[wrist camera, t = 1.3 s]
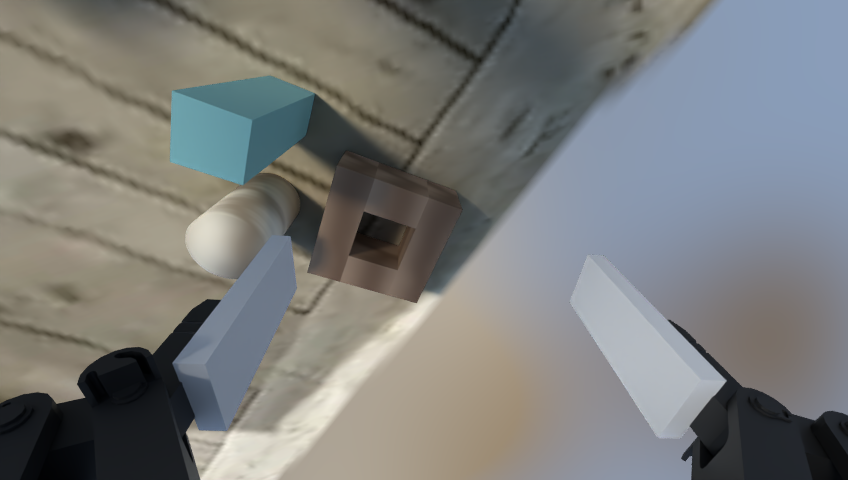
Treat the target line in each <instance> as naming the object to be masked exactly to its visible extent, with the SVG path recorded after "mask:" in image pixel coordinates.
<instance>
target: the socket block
mask: <svg viewBox="0 0 848 480" xmlns="http://www.w3.org/2000/svg"><path fill="white" fill-rule="evenodd" d="M363 212H367V213H370V214H373V215H376V216H379V217H382V218H385V219H388V220H391V221H394V222H397V223H400V224H403V225H406V226H407V228H406V230H405V233H404V235H403V237H402V240H401V242H400V245H399V246H397V245H394V244H391V243H388V242H385V241H381V240H378V239H375V238H372V237H369V236H366V235H363V234H359V233H357V230H358V227H359V224H360V221H361V218H362V215H363ZM461 212H462V207H461V204H460V201H459V199H458V196H457V193H456V191H455V190H452V189H450V188H447V187H444V186H441V185H439V184H436V183H433V182H431V181H428V180H425V179H423V178H420V177H417V176H414V175H412V174H409V173H406V172H404V171H401V170H398V169H396V168H393V167H390V166H387V165H385V164H382V163H379V162H377V161H374V160H371V159H368V158H366V157H363V156H360V155H358V154H355V153H352V152H350V151H347V150H346V152H345V153H344V155H343V156H342V158H341V160H340V161H339V163H338V164H337V167H336V170H335V174H334V178H333V181H332V185H331V188H330V192H329V196H328V199H327V203H326V207H325V210H324V214H323V217H322V221H321V225H320V228H319V232H318V236H317V239H316V243H315V247H314V250H313V254H312V257H311V261H310V265H309V268H308V272H307V273H311V274H315V275H318V276H322V277H325V278H329V279H332V280H336V281H339V282H343V283H347V284H350V285H354V286H357V287H361V288H364V289H368V290H372V291H375V292H379V293H382V294H386V295H389V296H393V297H397V298H400V299H404V300H407V301H411V302H414V303H417V301H418V299H419V297H420V295H421V293H422V291H423V289H424V287H425V285H426V283H427V281H428V279H429V277H430V275H431V273H432V271H433V269H434V267H435V265H436V263H437V261H438V259H439V257H440V255H441V253H442V250H443V248H444V246H445V244H446V242H447V240H448V238H449V236H450V234H451V232H452V230H453V228H454V226H455V224H456V222H457V220H458V218H459V216H460V214H461Z"/></svg>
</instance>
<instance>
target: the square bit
mask: <svg viewBox="0 0 848 480" xmlns="http://www.w3.org/2000/svg"><path fill="white" fill-rule="evenodd" d="M314 97H315V93H313V92H310V91H308V90H305V89H303V88H300V87H298V86H295V85H293V84H290V83H288V82H285V81H283V80H280V79H278V78H275V77H273V76H264V77H258V78H251V79H245V80H238V81H232V82H225V83H219V84H212V85H206V86H199V87H193V88H186V89H180V90H173V91H172V109H171V142H170V162H172V163H175V164H179V165H182V166H185V167H188V168H191V169H194V170H197V171H200V172H203V173H206V174H209V175H213V176H216V177H219V178H222V179H225V180H228V181H231V182H234V183H237V184H240V185H244V184H245V183H247V182H248V181H249V180H250V179H252V178H253V177H254V176H255V175H257V174H258V173H259V172H261V171H262V170H263V169H264V168H266V167H267V166H268V165H269V164H271V163H272V162H273V161H274V160H276V159H277V158H278V157H279V156H281V155H282V154H283V153H284V152H286V151H287V150H288V149H289V148H291V147H292V146H293V145H294V144H296V143H297V142H298V141H300V140H301V139H302V138H303V137H305V136H306V133H307V129H308V124H309V120H310V115H311V111H312V106H313V101H314Z"/></svg>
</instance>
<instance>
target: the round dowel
mask: <svg viewBox="0 0 848 480" xmlns="http://www.w3.org/2000/svg"><path fill="white" fill-rule="evenodd" d="M299 210H300V198H299V195H298V193H297V191H296V190H295V188H294V187H293V186H292V185H291V184H290V183H289V182H288V181H287V180H285V179H284V178H282V177H280V176H278V175H275V174H271V173H259V174H257V175H255V176H254V177H253V178H252V179H250V180H249V181H248V182H247V183H245V184H244V185H240V186H238V187H237V188H236V189H234V190H233V191H232V192H231V193H229V194H228V195H227V196H225V197H224V198H223V199H222V200H220V201H219V202H218V203H216V204H215V205H214V206H213V207H211V208H210V209H209V210H207V211H206V212H205V213H204V214H202V215H201V216H200V217H198V218H197V219H196V220H195V221H193V222H192V223H191V224H190V226H189V227H188V229H187V232H186V236H185V241H186V246H187V249H188V251H189V253H190V255H191V256H192V258H193V259H194V260H195V261H196V262H197V263H198V264H199V265H200V266H201V267H202V268H204V269H205V270H207V271H208V272H210V273H212V274H214V275H217V276H220V277H223V278H229V279H238V278H239V277H240V276H241V274H242V273H243V272H244V270H245V269H246V268H247V267H248V265H249V264H250V263H251V261H252V260H253V259H254V258H255V256H256V255H257V254H258V252H259V251H260V250H261V249H262V247H263V246H264V245H265V243H266V242H267V241H268V239H269V238H270V237H271V236H272V235H279V236H283V235H284V234H285V232H286V231H287V230H288V228H289V227H290V225H291V224H292V222H293V221H294V219H295V218H296V216H297V215H298V213H299Z"/></svg>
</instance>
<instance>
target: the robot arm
mask: <svg viewBox="0 0 848 480" xmlns="http://www.w3.org/2000/svg"><path fill="white" fill-rule="evenodd" d="M296 289H297V286H296V278H295V269H294V261H293V252H292V244H291V236H279V235H272V236H271V237H270V238H269V239H268V241H267V242H266V243H265V245H264V246H263V247H262V249H261V250H260V251H259V252H258V254H257V255H256V256H255V258H254V259H253V260H252V261H251V263H250V264H249V265H248V267H247V268H246V269H245V270H244V272H243V273H242V274H241V276H240V277H239V278H238V279H237V281H236V282H235V283H234V285H233V286H232V287H231V288H230V290H229V291H228V292H227V294H226V295H225V296H224V297H223V299H222V300H210V299H207V300H205V301H204V302H202V303H201V304H199V305H198V306H196V307H195V308H193V309H192V310H191V311H190V312H189V313H188V314H187V316H186V317H185V318H184V319H183V320H182V323H180V324H179V325H178V326H177V327H176V328H175V330H174V331H173V333H171V334H170V335H169V336H168V338H167V339H166V340H165V341H164V342H163V343H162V345H161V346H160V347H159V348H158V349H157V350H156V351H155V353H154V354H153V355H152V354H151V353H150V352H149V350H147V349H144V348H141V347H132V348H125V349H121V350H117V351H114V352H111V353H109V354H107V355H105V356H103V357H101V358H99V359H98V360H96V361H95V362H93V363H92V364H90V365H89V366H88V367H87V368H86V369H85V370H84V371H83V373H82V374H81V375H80V377H79V380H78V383H77V385H78V386H79V388H80V390H81V391H82V393H83V394H84V396H85V397H86V398H82V399H77V400H73V401H68V402H64V403H59V404H56V403H55V402H54V400H53V399H52V398H51V397H50V396H49V395H48V394H46V393H39V392H36V393H30V394H23V395H20V396H18V397H15V398H12V399H9V400H6V401H4V402H3V403H1V404H0V480H200V477H199V474H198V470H197V467H196V463H195V460H194V457H193V453H192V450H191V446H190V443H189V439H188V437H187V434H186V431H187V429H188V428H189V426H190V424H191V423H192V421H193V419H195V421H196V424H197V426H198V429H199V430H211V431H227V430H228V428H229V426H230V424H231V422H232V420H233V418H234V416H235V414H236V412H237V409H238V407H239V405H240V403H241V401H242V399H243V397H244V395H245V393H246V391H247V389H248V387H249V385H250V383H251V381H252V379H253V377H254V375H255V373H256V371H257V369H258V367H259V365H260V363H261V360H262V358H263V356H264V354H265V352H266V350H267V348H268V346H269V344H270V342H271V340H272V338H273V336H274V334H275V332H276V330H277V328H278V326H279V324H280V322H281V320H282V318H283V316H284V314H285V312H286V309H287V307H288V305H289V303H290V301H291V299H292V297H293V295H294V293H295V291H296ZM570 304H571V305H572V307H573V308H574V310H575V312H576V313H577V315H578V316H579V318H580V319H581V321H582V322H583V324H584V325H585V327H586V328H587V330H588V331H589V333H590V335H591V336H592V338H593V339H594V341H595V342H596V344H597V345H598V347H599V348H600V350H601V351H602V353H603V354H604V356H605V358H606V359H607V361H608V362H609V364H610V365H611V367H612V368H613V370H614V371H615V373H616V375H617V376H618V378H619V379H620V380H621V382H622V384H623V385H624V387H625V388H626V390H627V391H628V393H629V394H630V396H631V397H632V399H633V400H634V402H635V404H636V405H637V407H638V408H639V410H640V411H641V413H642V414H643V416H644V418H645V419H646V420H647V422H648V424H649V425H650V427H651V428H652V430H653V431H654V433H655V434H656V436H657V438H681V437H682V436H683V435H684V433H685V432H686V431H687V430H688V428H689V427H691V428H692V429H693V431H694V432H695V433H696V435H697V436H698V437H697V438H696V439H695V441H694V442H693V443H692V444H691V446H690V447H689V448H688V449H687V450H686V451H685V452H684V454H683V456H682V458H681V459H682V460H684V461H686V460H687V459H688V457H689V456H692V476H691V480H848V415H845V414H843V413H839V412H834V411H827V412H825V413H823V414H822V415H821V416H820V417H819V418H818V419H817V420H816V421H814V420H811V419H807V418H804V417H800V416H797V415H794V414H791V413H790V411H788V409H786V407H785V406H783V405H782V404H781V403H779V402H778V401H777V400H775V399H774V398H772V397H770V396H768V395H767V394H765V393H763V392H760V391H758V390H755V389H752V388H744V387H742V386H741V385H740V384H739V383H738V382H737V381H736V380H735V379H734V378H733V377H732V376H731V375H730V374H729V373H728V372H727V371H726V370H725V369H724V368H723V367H722V366H721V365H720V364H719V363H718V362H717V361H716V360H715V359H714V358H713V357H712V356H711V355H710V354H709V353H706V351H705V350H704V348H703V347H702V346H701V345H699V344H697V343H696V340H695V339H694V338H692V337H691V335H690V334H688V332H686V331H685V330H684V329H683V328H681V327H680V326H678V325H677V324H675V323H674V322H672V321H671V320H666V319H665V317H664V316H663V315H662V314H661V313H660V312H659V311H658V310H657V309H656V308H655V307H654V306H653V305H652V304H651V303H650V302H649V301H648V300H647V299H646V298H645V297H644V296H643V295H642V294H641V293H640V292H639V291H638V290H637V289H636V288H635V287H634V286H633V285H632V284H631V283H630V282H629V281H628V280H627V279H626V278H625V277H624V276H623V274H622V273H621V272H620V271H619V270H617V268H616V267H614V265H613V264H612V263H611V262H610V261H609V260H608V259H607V258H606V257H605V256H604V255H603V256H602V255H587V258H586V260H585V264H584V266H583V268H582V271H581V273H580V276H579V279H578V281H577V284H576V286H575V289H574V291H573V294H572V297H571V299H570Z"/></svg>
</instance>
